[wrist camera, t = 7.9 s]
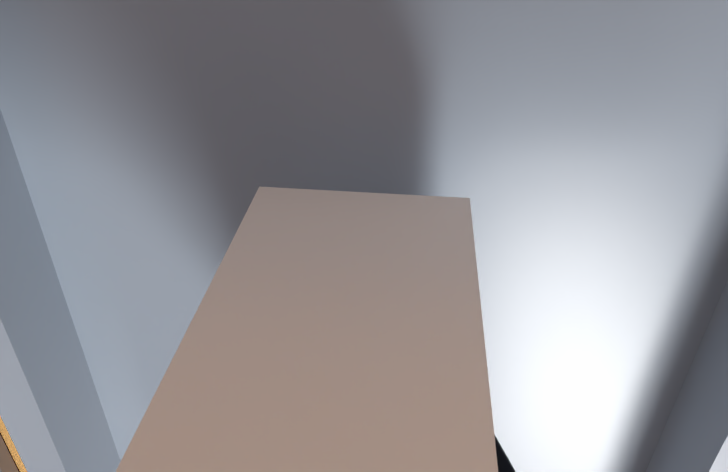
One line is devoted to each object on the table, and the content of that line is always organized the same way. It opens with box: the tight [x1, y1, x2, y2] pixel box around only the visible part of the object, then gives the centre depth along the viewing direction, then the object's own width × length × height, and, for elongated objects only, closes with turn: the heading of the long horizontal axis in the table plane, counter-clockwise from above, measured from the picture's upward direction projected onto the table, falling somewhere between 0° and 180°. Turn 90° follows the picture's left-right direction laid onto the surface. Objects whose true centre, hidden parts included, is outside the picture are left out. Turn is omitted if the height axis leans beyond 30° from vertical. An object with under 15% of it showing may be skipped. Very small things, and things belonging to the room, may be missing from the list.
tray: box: [0, 0, 728, 472], centre depth 12 cm, size 23×16×2 cm
